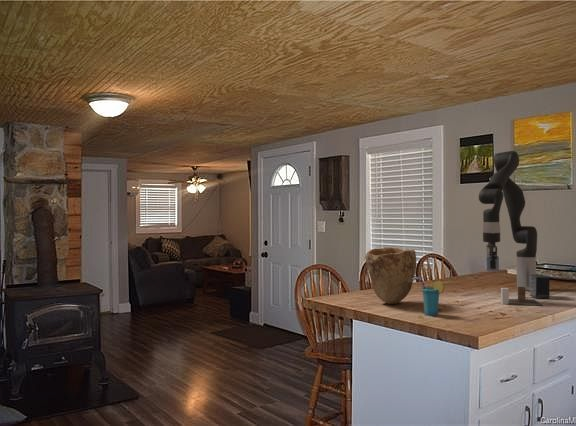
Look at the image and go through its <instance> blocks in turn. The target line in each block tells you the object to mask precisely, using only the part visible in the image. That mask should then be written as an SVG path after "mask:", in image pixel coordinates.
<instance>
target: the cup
mask: <svg viewBox="0 0 576 426" xmlns="http://www.w3.org/2000/svg"><path fill="white" fill-rule="evenodd" d="M412 280H413V281H414V280H416V281H417V280H420V283H421V286H422V287H421V292H422V300H423V310H424V315H425V316H426V317H437V316H436V315H438V314H439V299H440V294H442V293H444V290H445V285H444V283H443V282H442V281H441V280H436V281H434V283H433V286H425V283H424V281H423V279H422V277H420V276H416V277H414V278H412Z"/></svg>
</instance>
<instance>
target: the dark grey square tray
mask: <svg viewBox="0 0 576 426" xmlns="http://www.w3.org/2000/svg"><path fill="white" fill-rule="evenodd" d="M508 306H519V307H520V306H521V307H523V306H525V307H526V306H527V307H528V306H529V307H543V306H544V305H543V304H542V303H541V302H539V301H537V299H535V298H534V299H530V298H529V299H528V298H527V299H526V290H525V287H518V289H517V298H509V304H508Z"/></svg>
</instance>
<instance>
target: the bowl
mask: <svg viewBox="0 0 576 426" xmlns="http://www.w3.org/2000/svg"><path fill="white" fill-rule="evenodd" d="M364 260H365V263H366V268H367V270H368V274H369V277H370V281H371V285H372V288H373V289H372V290H373V291H374V293H375V294H376V296H377V297H378V299H380V300H381V301H382V302H384V303H386V304H388V305H396V304H399V303H400V302H402V301H403V300H405V298H406V297H407V296H408V295H409V293H410V291H411V289H412V286H413V282H414V280H412V278H416V277H415V276H416V272H417V254H416V251H415V249H412V248H411V249H410V248H405V249H402V248H399V247H387V246H386V247H382V248H380V247H379V248H371V249H370V250H368V251H367V253H366V254H365V257H364Z"/></svg>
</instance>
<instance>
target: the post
mask: <svg viewBox="0 0 576 426" xmlns="http://www.w3.org/2000/svg"><path fill="white" fill-rule="evenodd" d="M509 294H510V292H509V288H508V287H500V302H501V303H500V304H501V305H508V304H509V299H510V298H509V297H510V295H509ZM508 306H509V305H508Z"/></svg>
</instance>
